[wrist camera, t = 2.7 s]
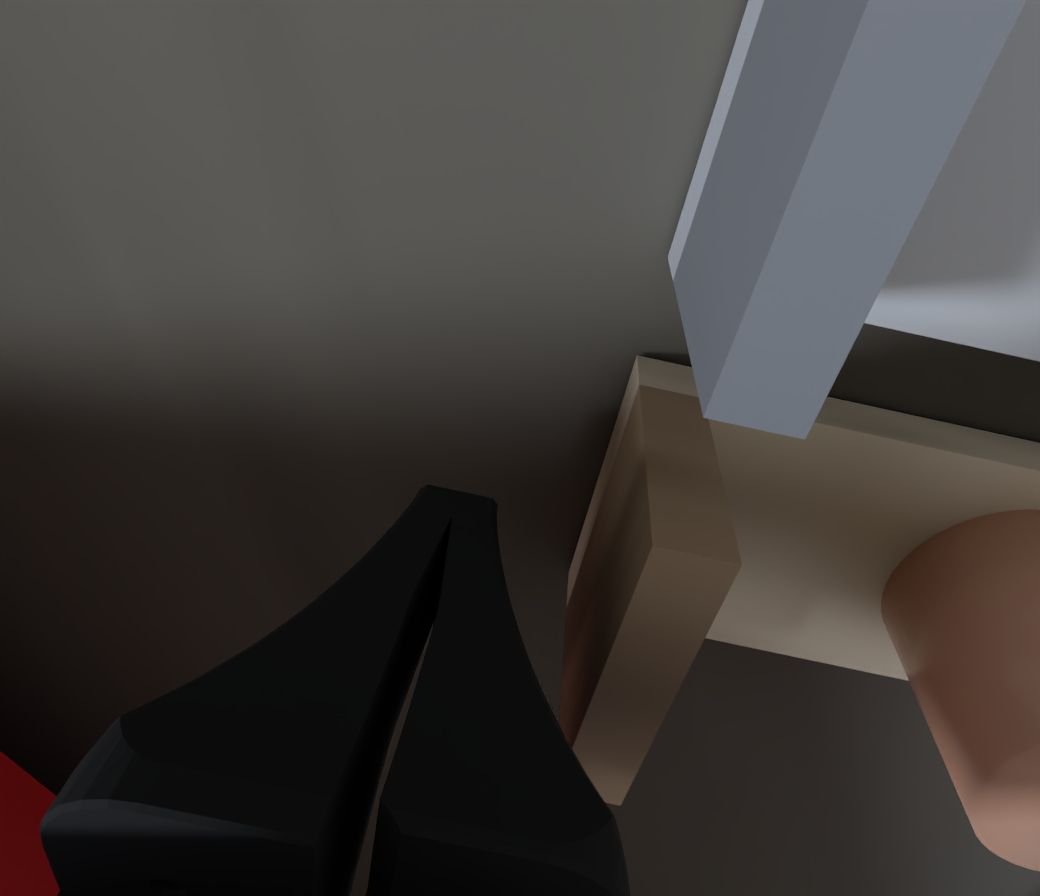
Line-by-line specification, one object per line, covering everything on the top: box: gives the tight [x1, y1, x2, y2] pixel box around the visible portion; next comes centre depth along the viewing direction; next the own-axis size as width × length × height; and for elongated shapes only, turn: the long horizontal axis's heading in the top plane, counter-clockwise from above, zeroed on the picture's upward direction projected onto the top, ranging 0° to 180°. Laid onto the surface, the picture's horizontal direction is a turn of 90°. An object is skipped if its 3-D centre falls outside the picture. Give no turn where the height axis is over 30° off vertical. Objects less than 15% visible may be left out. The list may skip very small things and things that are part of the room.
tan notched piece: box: [559, 355, 1040, 806], centre depth 13 cm, size 6×12×6 cm, turn 79°
